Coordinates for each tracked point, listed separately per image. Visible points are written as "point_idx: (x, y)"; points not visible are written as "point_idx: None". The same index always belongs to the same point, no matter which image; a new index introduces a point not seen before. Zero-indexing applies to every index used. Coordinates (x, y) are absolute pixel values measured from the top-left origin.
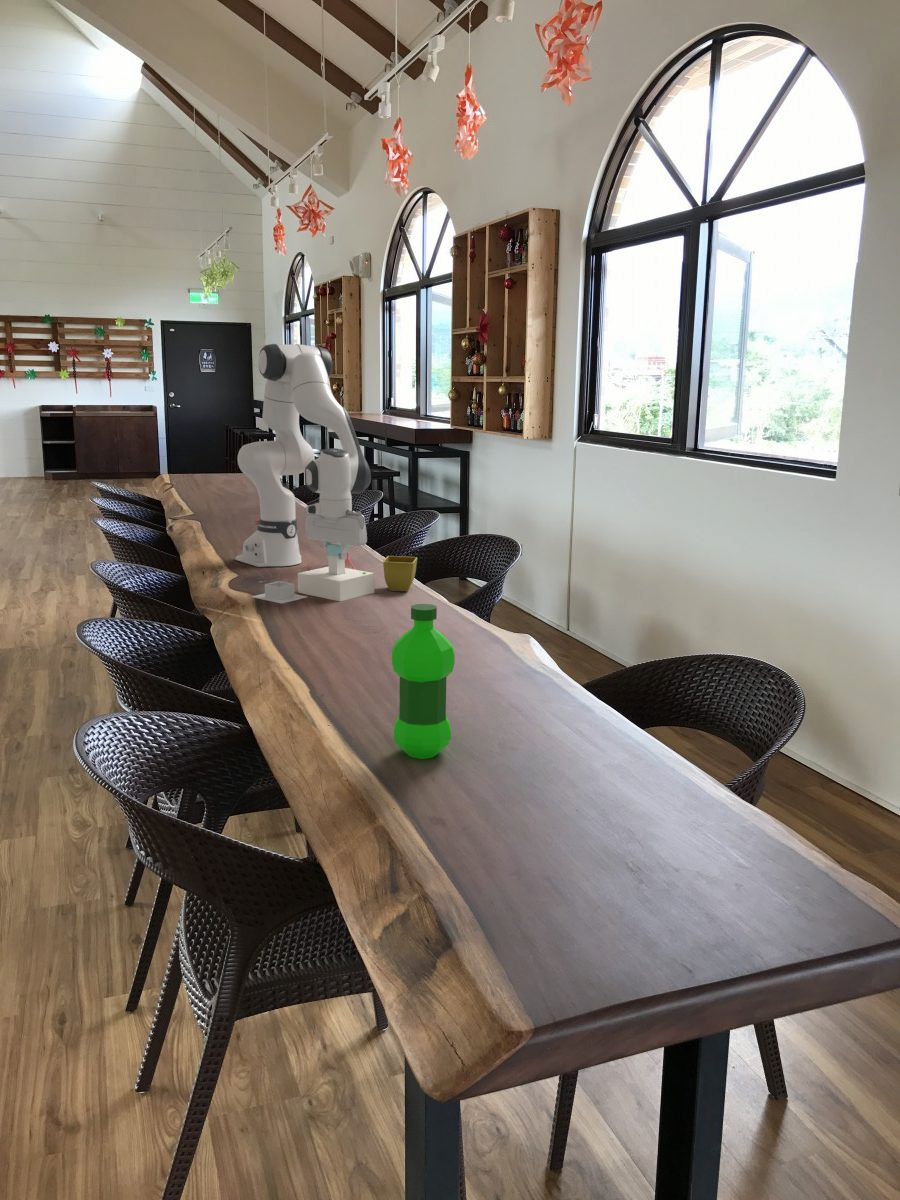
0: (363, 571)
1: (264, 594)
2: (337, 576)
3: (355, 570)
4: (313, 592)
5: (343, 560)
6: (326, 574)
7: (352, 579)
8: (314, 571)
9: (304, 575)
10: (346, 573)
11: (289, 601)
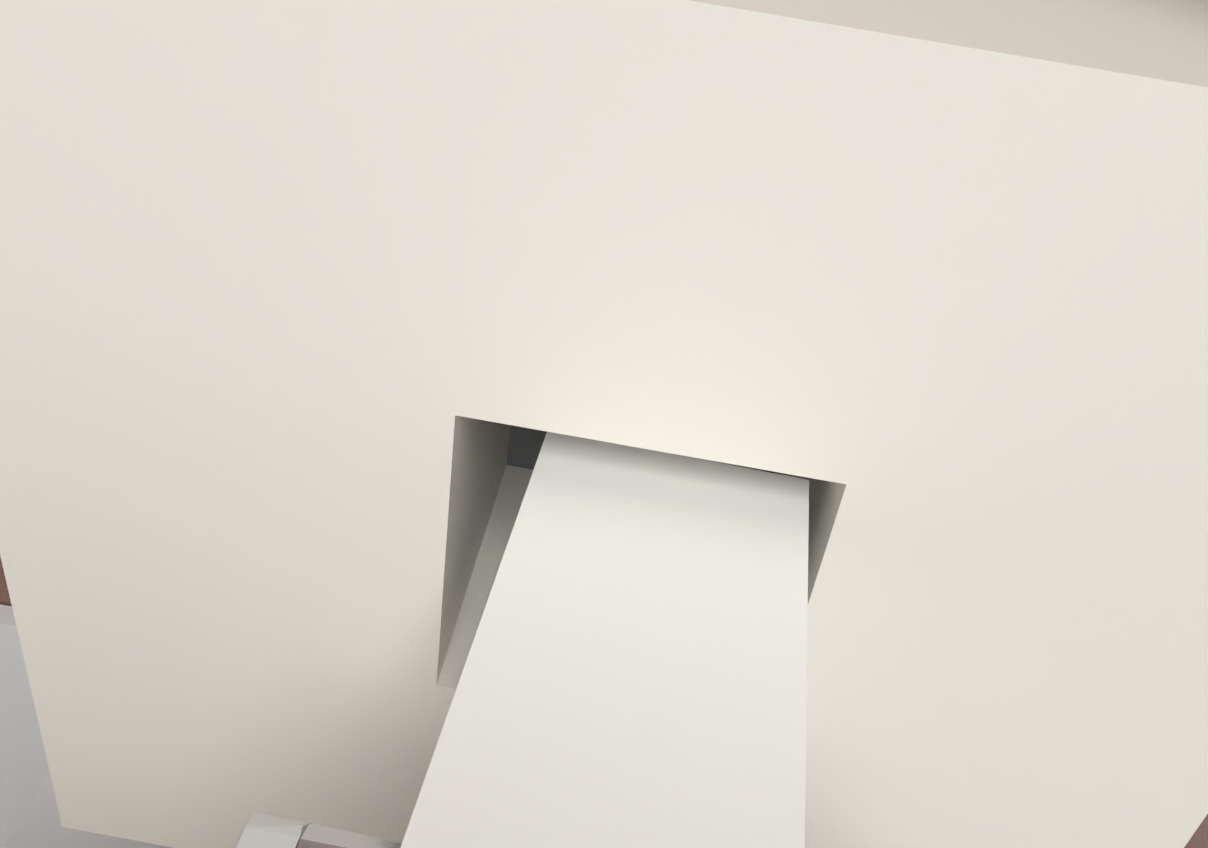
0: (1202, 123)
1: (16, 795)
2: (829, 795)
3: (895, 128)
4: None
5: (791, 815)
6: None
7: (1198, 800)
8: (155, 644)
9: (231, 840)
10: (854, 532)
11: None
